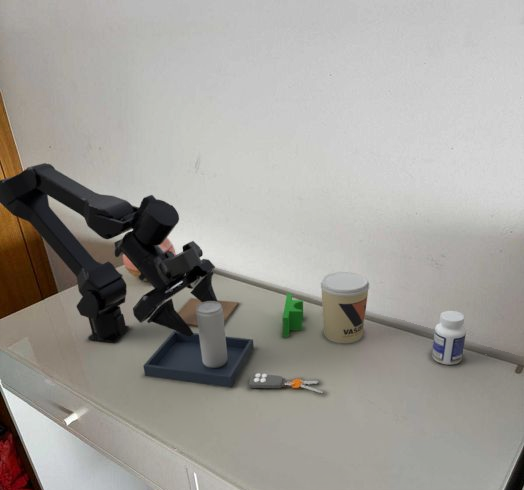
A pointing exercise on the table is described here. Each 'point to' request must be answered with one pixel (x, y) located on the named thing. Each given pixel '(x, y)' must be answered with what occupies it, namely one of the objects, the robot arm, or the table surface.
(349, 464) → the table surface
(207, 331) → the beverage can
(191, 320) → the cork mat
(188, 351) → the tray
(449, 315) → the pill bottle
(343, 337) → the beige lidded tub
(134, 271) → the vase
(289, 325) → the pipe clamp
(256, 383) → the key chain
